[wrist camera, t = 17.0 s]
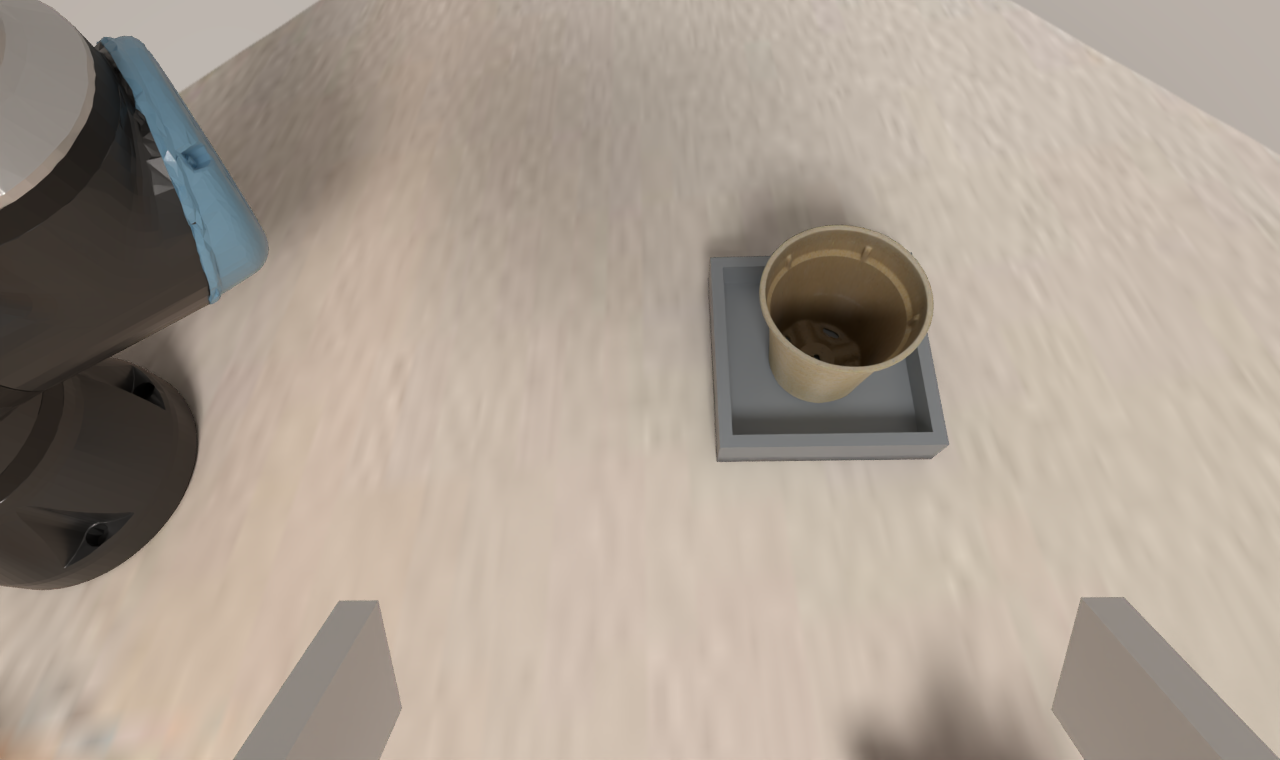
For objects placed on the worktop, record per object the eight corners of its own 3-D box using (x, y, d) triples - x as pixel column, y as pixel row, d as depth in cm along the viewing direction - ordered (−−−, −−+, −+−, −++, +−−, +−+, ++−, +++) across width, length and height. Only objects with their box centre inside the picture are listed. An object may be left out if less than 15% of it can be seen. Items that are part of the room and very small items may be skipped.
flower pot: (748, 293, 47) (764, 217, 39) (885, 305, 46) (930, 229, 38) (739, 418, 43) (754, 362, 35) (888, 433, 42) (938, 380, 34)
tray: (716, 461, 43) (719, 447, 40) (708, 280, 48) (710, 257, 45) (930, 459, 42) (949, 444, 39) (897, 276, 48) (911, 252, 45)
